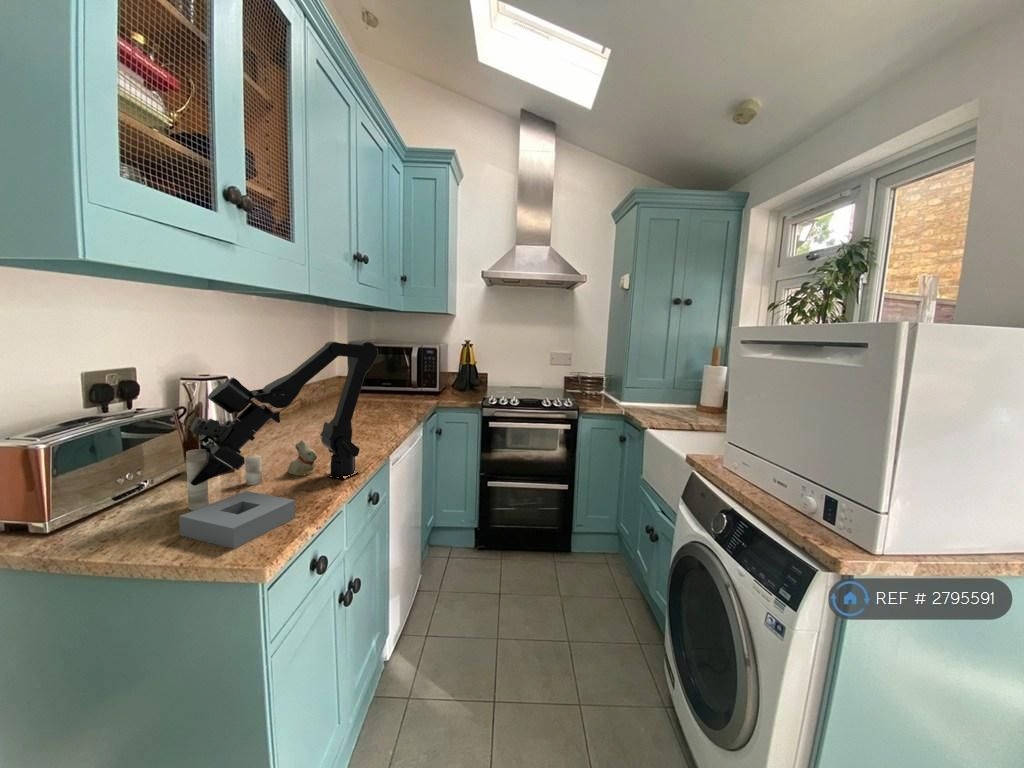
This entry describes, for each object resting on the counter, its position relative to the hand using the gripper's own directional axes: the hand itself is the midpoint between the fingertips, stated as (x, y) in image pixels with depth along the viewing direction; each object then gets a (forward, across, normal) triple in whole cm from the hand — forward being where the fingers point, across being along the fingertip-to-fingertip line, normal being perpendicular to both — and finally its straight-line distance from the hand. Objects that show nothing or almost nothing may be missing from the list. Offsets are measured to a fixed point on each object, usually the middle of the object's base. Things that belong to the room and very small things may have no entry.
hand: (189, 480), depth 88 cm
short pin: (-5, -9, +15) cm, 18 cm away
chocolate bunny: (-14, -9, +24) cm, 29 cm away
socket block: (0, +17, +9) cm, 19 cm away
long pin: (+4, 0, +6) cm, 7 cm away
